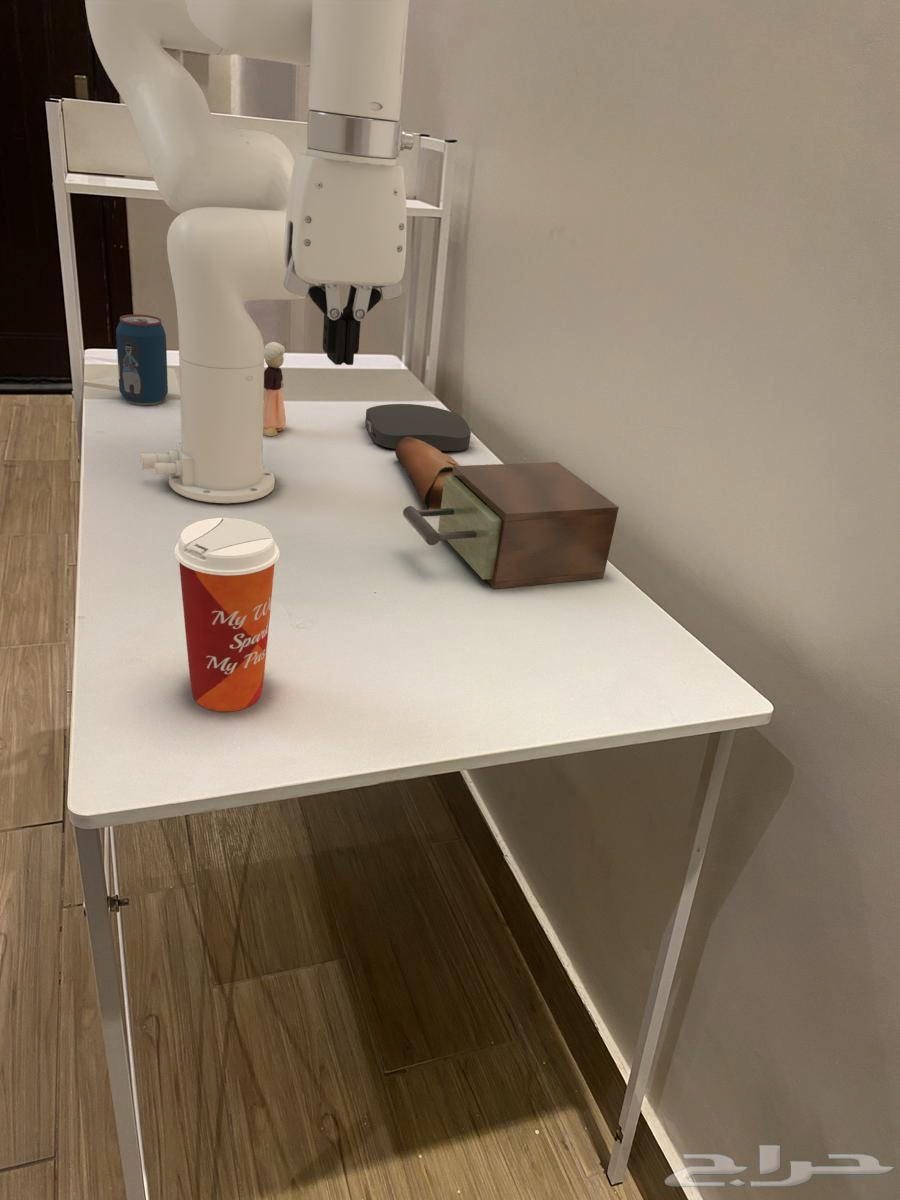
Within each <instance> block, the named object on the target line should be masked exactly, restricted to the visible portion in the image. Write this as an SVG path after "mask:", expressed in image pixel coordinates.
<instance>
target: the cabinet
mask: <svg viewBox="0 0 900 1200" xmlns="http://www.w3.org/2000/svg"><path fill="white" fill-rule="evenodd" d="M452 476H455V477H456V478H457V479H458V480H459V481H461V482H462V483H463V484H464V485H465V486H466V485H467V486H468V487H469V488H470V489H471V490H472V491H473V492H474V493H475V494H476V495H477V496H479V497H480V498H481V499H482V500H483V501H484V502H485V503H486V504H487V505H488V506H489V507H490V508H492V509H493V510H494V511H495V512H496V513H497V514H498V515H499V516H500V517H501V518H502V523H501V530H500V536H499V543H498V549H497V555H496V562H495V568H494V575H493V579H485V581H487V583H488V584H489V585H490V586H491V587H492V588H493V589H494V590H495V589H496V590H497V589H498V590H499V589H508V588H518V587H527V586H537V585H548V584H558V583H568V582H577V581H579V582H580V581H588V580H590V581H591V580H599V579H604V577H605V572H606V569H607V568H606V567H607V565H608V564H607V563H608V559H609V555H610V554H609V553H610V551H611V546H612V540H613V536H614V532H615V528H616V523H617V519H618V513H619V509H620V507H619V506H618V505H616V504H615V503H614V502H613V501H611V500H610V499H608V497H605V495H603V494H602V493H601V492H599V491H598V490H596V489H595V488H594V487H592V486H591V485H589V484H588V483H586V481H584V480H582V479H581V478H580V477H579V476H577V475H576V474H575V473H573V472H572V471H570V470H569V469H567V468H566V467H565V466H564V465H562V464H560V462H558V461H549V462H525V463H523V462H521V463H498V464H497V463H496V464H473V465H471V464H469V465H467V464H466V465H460V466H453V473H452Z"/></svg>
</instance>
